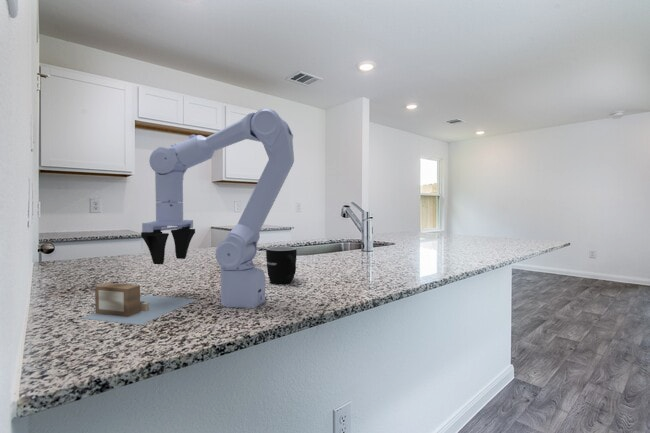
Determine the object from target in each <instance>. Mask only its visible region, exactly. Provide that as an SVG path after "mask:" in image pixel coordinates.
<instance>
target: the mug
mask: <svg viewBox="0 0 650 433" xmlns="http://www.w3.org/2000/svg"><path fill="white" fill-rule="evenodd" d="M297 255H298V254H297V247H294V246H271V247H267V248H266V249H265V256H266V258H265V260H266V268H267V269H266V270H267V276H268V279H269V282H270V283H271V284H273V285H279V284H282V285H288V283H289V284H291V283H292V282H293V281H294V278H295V275H296V272H297Z"/></svg>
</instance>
